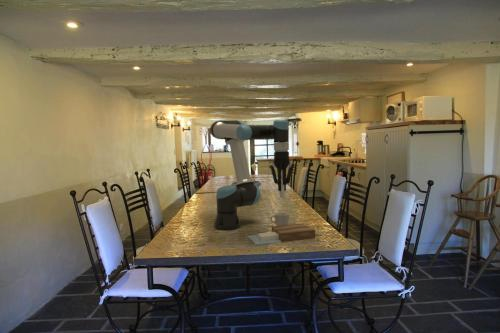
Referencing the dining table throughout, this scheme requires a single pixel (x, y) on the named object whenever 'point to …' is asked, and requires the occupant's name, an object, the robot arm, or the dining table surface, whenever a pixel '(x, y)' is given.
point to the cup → (281, 218)
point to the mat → (259, 242)
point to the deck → (294, 232)
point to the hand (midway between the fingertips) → (282, 197)
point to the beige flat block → (268, 236)
